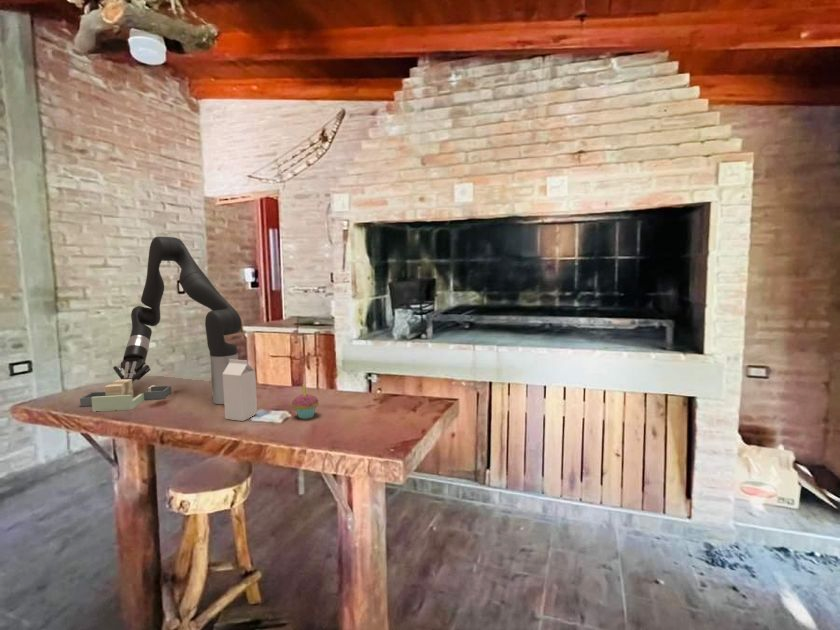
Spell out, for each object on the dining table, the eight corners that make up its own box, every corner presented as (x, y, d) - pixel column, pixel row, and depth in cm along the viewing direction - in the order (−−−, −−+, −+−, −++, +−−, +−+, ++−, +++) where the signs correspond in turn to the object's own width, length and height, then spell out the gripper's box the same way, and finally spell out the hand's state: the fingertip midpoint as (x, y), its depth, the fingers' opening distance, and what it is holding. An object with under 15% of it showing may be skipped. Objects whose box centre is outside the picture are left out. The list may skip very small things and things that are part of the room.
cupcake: (318, 419, 159) (317, 383, 157) (291, 421, 158) (289, 384, 156) (319, 411, 167) (318, 376, 166) (293, 413, 166) (291, 377, 164)
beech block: (119, 401, 182) (117, 379, 181) (133, 400, 183) (132, 378, 182) (106, 409, 173) (104, 386, 172) (122, 408, 173) (120, 386, 172)
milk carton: (243, 421, 158) (239, 362, 156) (225, 419, 161) (221, 361, 158) (257, 414, 165) (254, 358, 162) (240, 412, 167) (236, 357, 165)
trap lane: (101, 394, 192) (100, 381, 191) (174, 390, 196) (174, 378, 195) (70, 413, 169) (68, 398, 168) (153, 408, 173) (152, 394, 172)
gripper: (114, 344, 189) (102, 384, 179) (152, 343, 191) (142, 382, 181) (122, 355, 195) (110, 395, 185) (158, 354, 197) (149, 393, 187)
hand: (126, 388), depth 183 cm, fingers closed
